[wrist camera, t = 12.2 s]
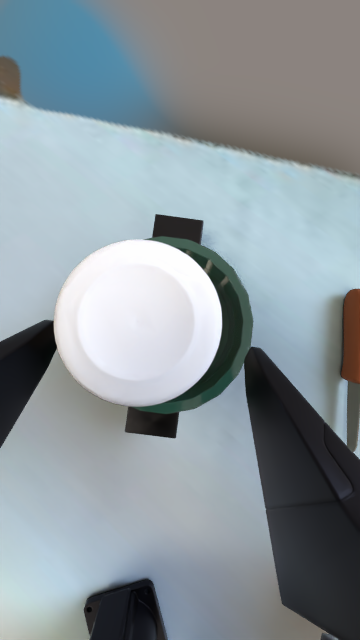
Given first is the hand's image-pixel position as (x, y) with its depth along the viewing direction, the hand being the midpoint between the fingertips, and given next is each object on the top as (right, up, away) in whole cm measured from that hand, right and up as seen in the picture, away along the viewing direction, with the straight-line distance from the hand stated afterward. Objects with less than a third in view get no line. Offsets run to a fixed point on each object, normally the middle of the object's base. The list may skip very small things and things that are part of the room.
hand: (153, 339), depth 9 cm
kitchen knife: (+18, -4, +10) cm, 21 cm away
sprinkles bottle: (0, 0, +10) cm, 10 cm away
